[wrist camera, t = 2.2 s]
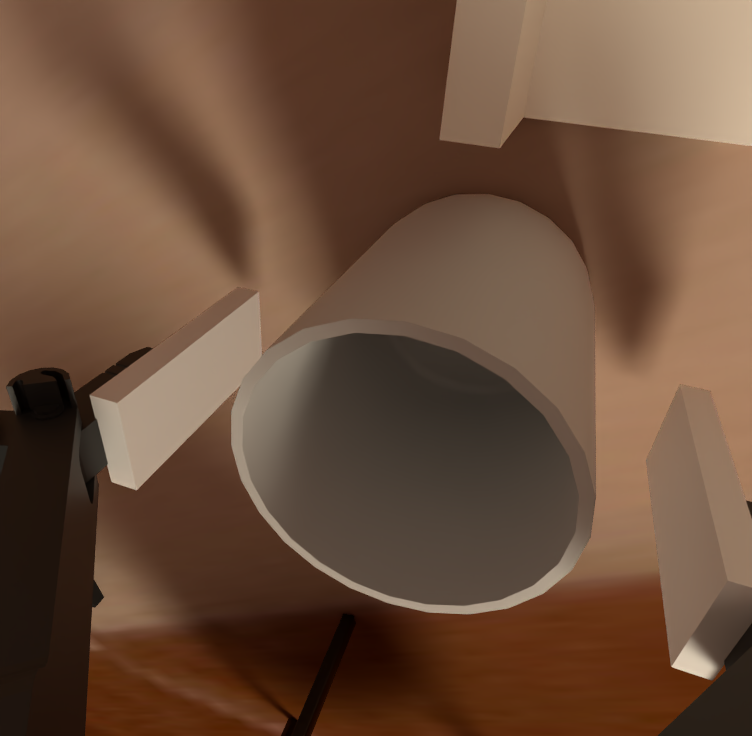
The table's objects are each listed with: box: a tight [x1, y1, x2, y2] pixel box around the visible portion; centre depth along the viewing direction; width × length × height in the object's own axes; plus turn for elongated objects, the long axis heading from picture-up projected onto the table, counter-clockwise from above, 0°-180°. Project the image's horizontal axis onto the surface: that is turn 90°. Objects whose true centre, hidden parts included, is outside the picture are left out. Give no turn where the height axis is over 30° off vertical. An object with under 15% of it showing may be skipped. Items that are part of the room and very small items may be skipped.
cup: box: [231, 194, 596, 614], centre depth 15 cm, size 7×10×9 cm
